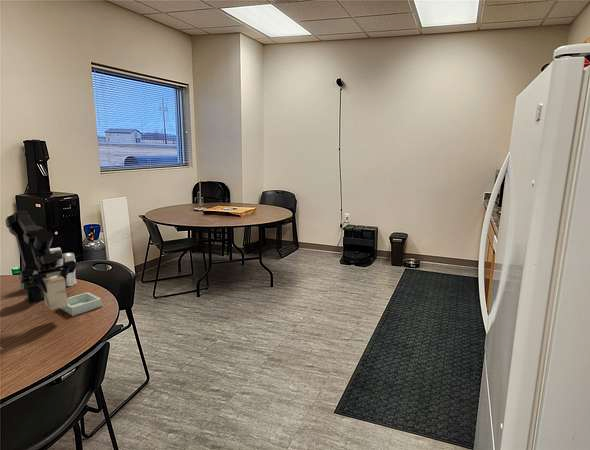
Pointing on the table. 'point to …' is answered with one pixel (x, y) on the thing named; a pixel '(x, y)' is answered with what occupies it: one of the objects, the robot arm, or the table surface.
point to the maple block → (55, 292)
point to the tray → (81, 303)
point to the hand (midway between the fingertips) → (55, 290)
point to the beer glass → (71, 276)
